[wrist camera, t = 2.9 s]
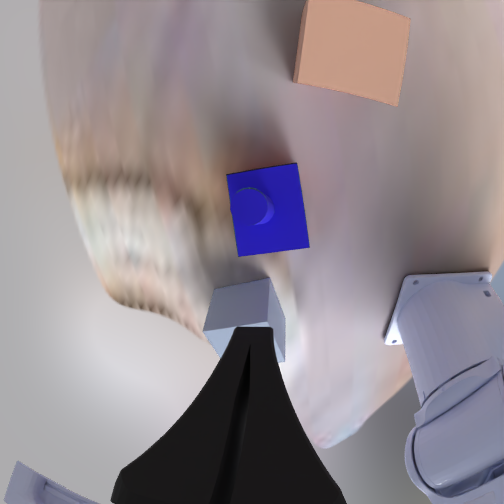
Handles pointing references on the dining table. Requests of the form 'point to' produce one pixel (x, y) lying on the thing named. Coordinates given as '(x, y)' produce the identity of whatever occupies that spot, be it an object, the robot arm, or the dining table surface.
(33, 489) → the robot arm
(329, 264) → the dining table surface
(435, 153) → the dining table surface
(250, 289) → the slate blue block
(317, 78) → the terracotta block
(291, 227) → the toy building block
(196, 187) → the dining table surface
